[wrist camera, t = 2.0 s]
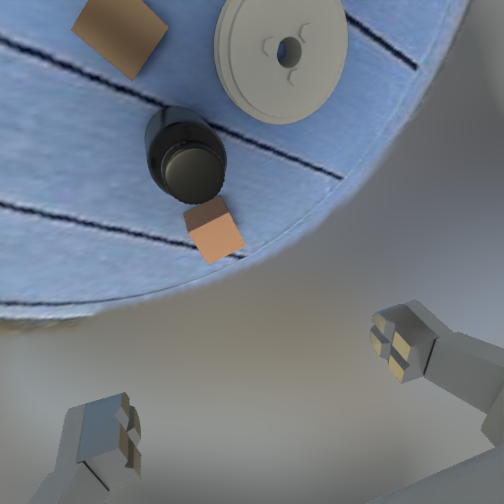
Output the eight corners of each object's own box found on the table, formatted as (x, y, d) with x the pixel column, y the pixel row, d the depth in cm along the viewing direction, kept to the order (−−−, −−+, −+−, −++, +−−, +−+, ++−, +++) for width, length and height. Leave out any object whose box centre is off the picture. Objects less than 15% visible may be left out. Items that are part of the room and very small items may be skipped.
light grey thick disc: (272, 141, 38) (288, 153, 34) (185, 55, 31) (191, 57, 27) (351, 48, 35) (379, 49, 31) (274, -71, 28) (297, -90, 24)
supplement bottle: (187, 182, 37) (204, 231, 27) (132, 147, 33) (129, 190, 24) (222, 132, 35) (254, 165, 25) (168, 89, 32) (180, 109, 22)
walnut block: (113, -22, 26) (108, -34, 22) (164, 29, 29) (168, 27, 25) (80, 31, 28) (70, 29, 23) (133, 76, 30) (132, 81, 26)
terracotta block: (219, 194, 39) (229, 212, 35) (235, 226, 42) (246, 245, 38) (183, 213, 39) (188, 232, 35) (201, 243, 42) (208, 264, 38)
